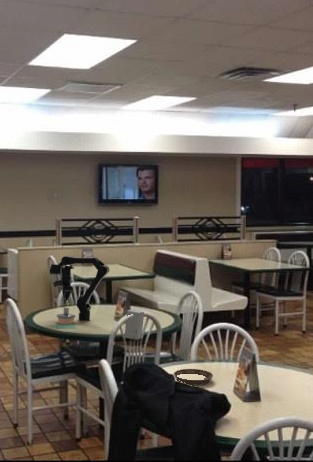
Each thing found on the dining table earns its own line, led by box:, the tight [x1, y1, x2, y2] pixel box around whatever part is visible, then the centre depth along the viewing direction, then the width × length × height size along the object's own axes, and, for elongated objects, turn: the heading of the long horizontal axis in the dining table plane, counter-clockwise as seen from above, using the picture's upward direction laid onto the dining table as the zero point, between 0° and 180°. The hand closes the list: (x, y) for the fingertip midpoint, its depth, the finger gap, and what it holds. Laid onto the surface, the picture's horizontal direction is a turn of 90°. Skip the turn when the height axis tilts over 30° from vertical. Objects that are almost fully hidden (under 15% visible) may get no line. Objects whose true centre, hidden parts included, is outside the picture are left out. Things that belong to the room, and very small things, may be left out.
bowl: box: [57, 317, 75, 324], centre depth 391 cm, size 10×10×4 cm
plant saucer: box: [173, 368, 214, 385], centre depth 282 cm, size 18×18×3 cm
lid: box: [56, 307, 76, 319], centre depth 390 cm, size 12×12×5 cm
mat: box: [53, 323, 77, 330], centre depth 379 cm, size 12×12×1 cm
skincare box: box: [124, 309, 145, 341], centre depth 358 cm, size 8×7×16 cm
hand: (65, 299), depth 403 cm, fingers open, 9 cm apart
